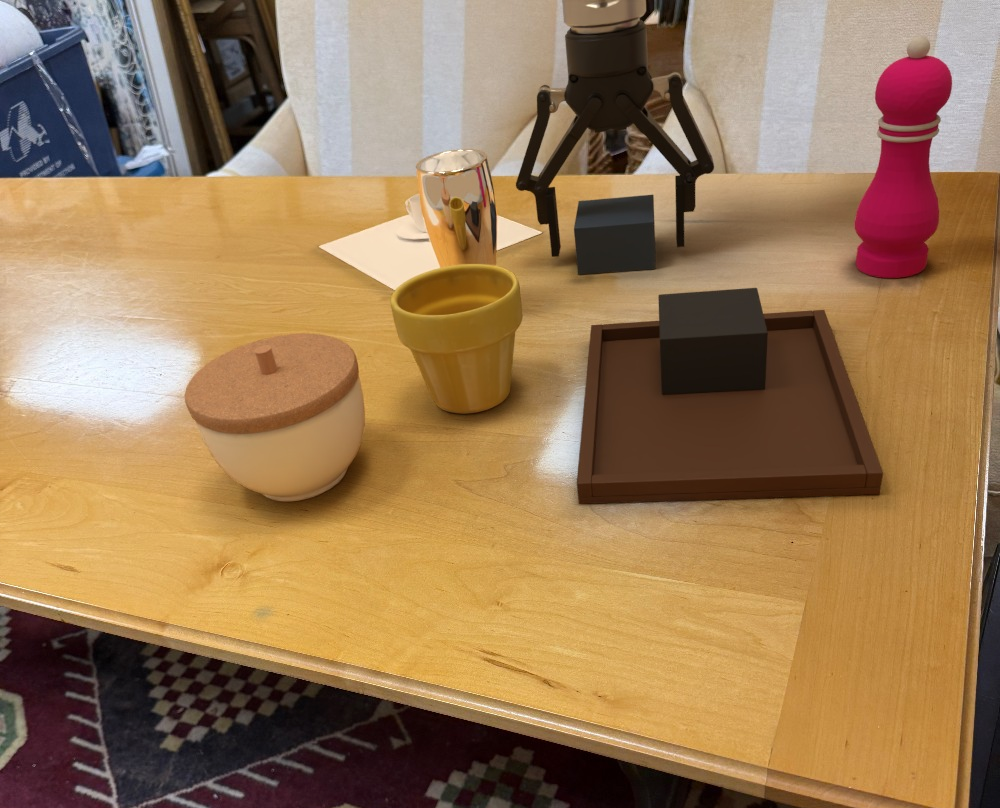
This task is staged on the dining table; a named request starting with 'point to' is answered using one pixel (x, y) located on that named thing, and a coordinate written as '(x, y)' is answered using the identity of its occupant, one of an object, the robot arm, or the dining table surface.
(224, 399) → the lidded bowl
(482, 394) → the flower pot
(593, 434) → the brown square tray
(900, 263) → the pepper mill
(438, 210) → the shiny metal vase
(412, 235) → the teacup and saucer
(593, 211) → the pad
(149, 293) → the dining table surface
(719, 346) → the pad
